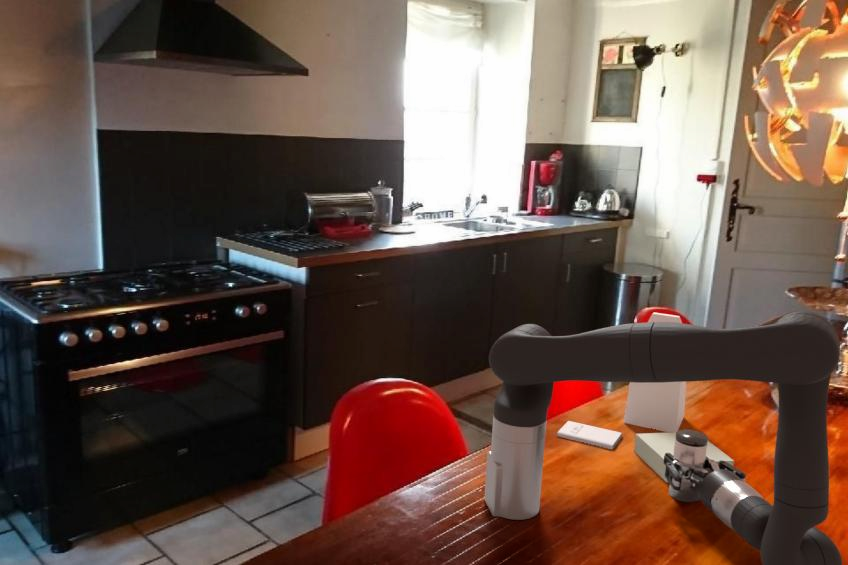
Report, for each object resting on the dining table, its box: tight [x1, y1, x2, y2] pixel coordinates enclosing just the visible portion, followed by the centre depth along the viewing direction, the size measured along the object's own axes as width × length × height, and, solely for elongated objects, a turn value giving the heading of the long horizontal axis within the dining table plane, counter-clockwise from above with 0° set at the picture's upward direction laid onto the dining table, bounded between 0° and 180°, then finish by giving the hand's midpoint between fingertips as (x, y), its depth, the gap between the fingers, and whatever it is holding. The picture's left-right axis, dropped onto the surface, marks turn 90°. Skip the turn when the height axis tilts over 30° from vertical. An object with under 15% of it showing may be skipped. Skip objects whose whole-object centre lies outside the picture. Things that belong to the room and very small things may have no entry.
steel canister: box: [668, 429, 709, 503], centre depth 133 cm, size 6×6×12 cm
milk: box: [623, 312, 687, 433], centre depth 168 cm, size 12×12×26 cm
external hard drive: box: [556, 420, 623, 451], centre depth 159 cm, size 2×8×12 cm
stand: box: [633, 432, 735, 483], centre depth 147 cm, size 14×14×4 cm
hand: (681, 457), depth 135 cm, fingers closed on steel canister, 5 cm apart
